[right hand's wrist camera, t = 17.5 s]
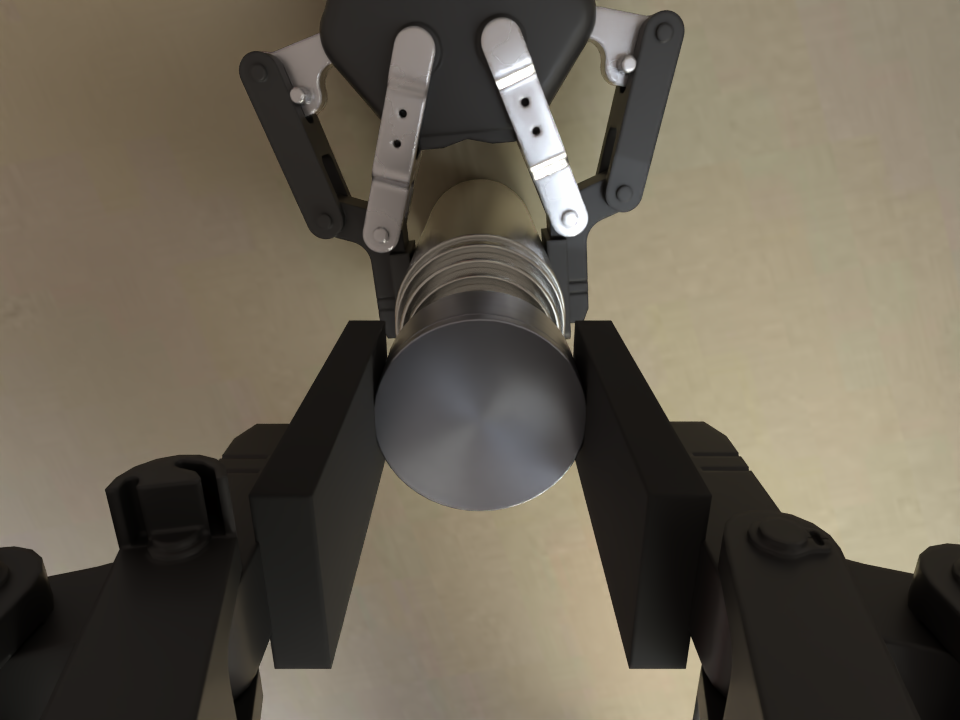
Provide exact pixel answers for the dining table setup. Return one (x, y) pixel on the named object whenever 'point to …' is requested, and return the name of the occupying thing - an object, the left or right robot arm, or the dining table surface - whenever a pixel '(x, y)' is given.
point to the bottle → (480, 253)
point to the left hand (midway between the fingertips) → (485, 337)
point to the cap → (480, 402)
